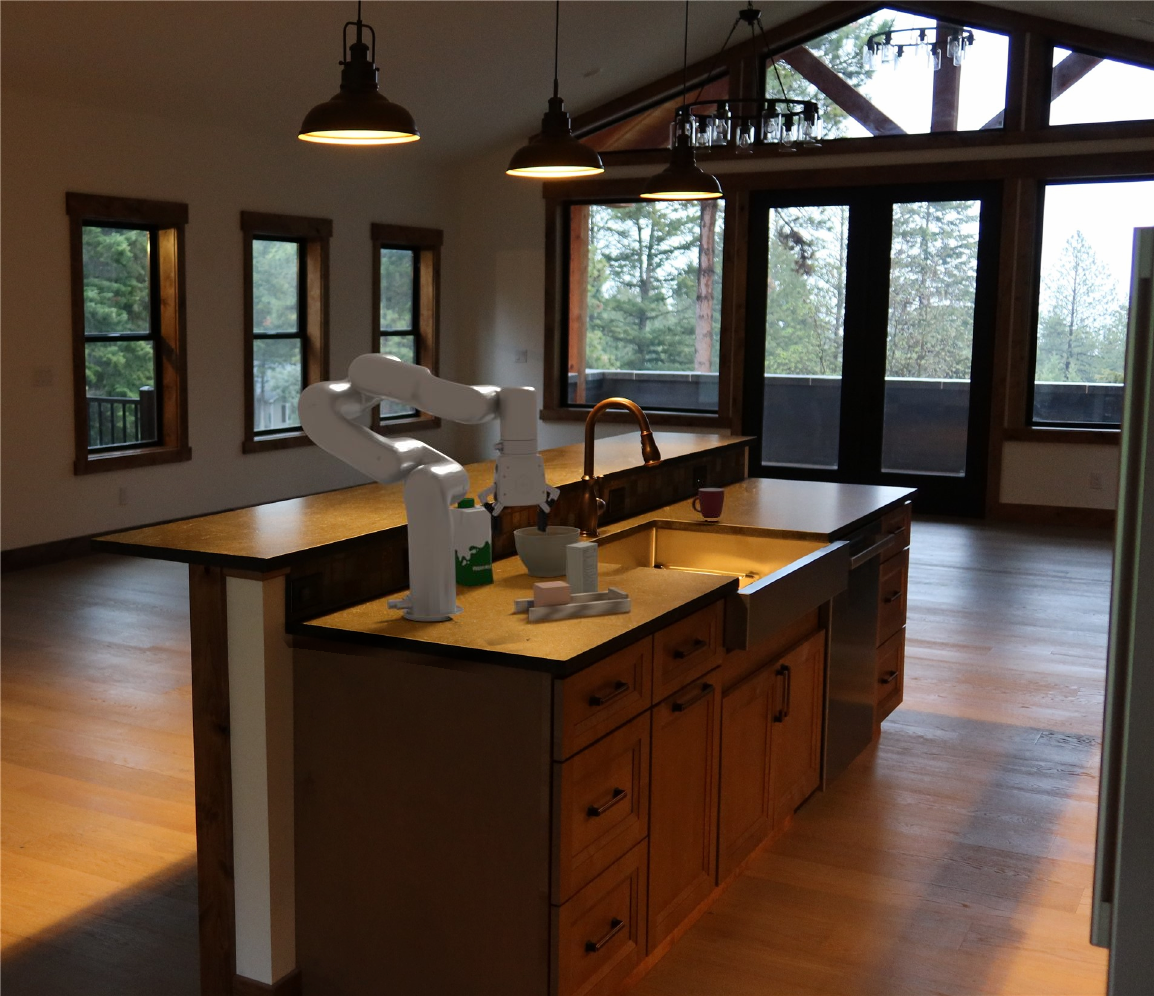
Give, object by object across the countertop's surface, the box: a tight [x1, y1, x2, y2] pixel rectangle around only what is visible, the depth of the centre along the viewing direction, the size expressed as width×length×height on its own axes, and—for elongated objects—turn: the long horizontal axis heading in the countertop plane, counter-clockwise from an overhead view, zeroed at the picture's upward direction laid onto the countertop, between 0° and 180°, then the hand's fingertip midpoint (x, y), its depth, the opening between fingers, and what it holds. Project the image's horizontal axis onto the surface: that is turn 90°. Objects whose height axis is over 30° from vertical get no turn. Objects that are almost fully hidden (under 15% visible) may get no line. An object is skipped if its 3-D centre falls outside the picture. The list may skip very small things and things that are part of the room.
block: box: [533, 580, 571, 608], centre depth 249 cm, size 6×5×6 cm
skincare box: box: [566, 541, 599, 594], centre depth 268 cm, size 6×4×12 cm
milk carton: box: [450, 497, 495, 588], centre depth 285 cm, size 9×9×20 cm
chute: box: [513, 586, 632, 622], centre depth 250 cm, size 22×10×4 cm, turn 113°
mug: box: [691, 487, 725, 519], centre depth 382 cm, size 11×8×10 cm
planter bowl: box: [513, 525, 581, 578], centre depth 296 cm, size 16×16×11 cm
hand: (519, 532), depth 244 cm, fingers open, 9 cm apart
